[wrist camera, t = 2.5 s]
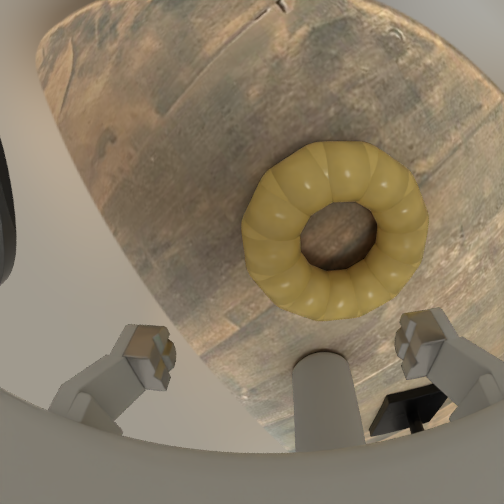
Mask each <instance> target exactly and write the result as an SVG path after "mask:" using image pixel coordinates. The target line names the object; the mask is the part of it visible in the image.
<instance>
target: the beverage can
mask: <svg viewBox="0 0 504 504" xmlns="http://www.w3.org/2000/svg"><path fill="white" fill-rule="evenodd" d="M292 381H293V400H294V422H295V448H296V452H311V451H322V450H331V449H339V448H347V447H353V446H360V445H365V444H366V443H365V437H364V432H363V427H362V421H361V416H360V412H359V407H358V402H357V397H356V393H355V388H354V384H353V379H352V375H351V371H350V367H349V364H348V362H347V360H345V359H344V358H343V357H341V356H340V355H337V354H335V353H330V352H318V353H314V354H311V355H308V356H307V357H305V358H303V359H302V360H301V361H300V362H299V363H298V364H297V365H296V366H295V368H294V369H293V373H292Z"/></svg>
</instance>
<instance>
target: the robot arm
mask: <svg viewBox="0 0 504 504" xmlns="http://www.w3.org/2000/svg"><path fill="white" fill-rule="evenodd" d="M400 324H401V327H400V328H399V329H398V330H397V332H396V336H395V350H396V353H397V356H398V357H399V358H401V359H402V360H403V362H402V365H401V367H402V370H403V372H404V375H405V378H406V380H410V379H415V378H420V377H424V376H427V378H428V379H429V380H430V381H431V382H432V383H433V384H435V385H436V386H437V387H438V388H439V389H440V390H441V391H442V392H443V393H444V394H445V395H446V396H448V397H449V398H450V399H451V400H452V401H453V402H454V403H455V404H456V405H457V406H458V407H457V408H456V409H455V410H454V412H453V413H452V414H451V416H450V418H449V420H450V422H449V423H446V424H443V425H440V426H437V427H434V428H431V429H428V430H424V431H421V432H417V433H414V434H410V435H406V436H402V437H398V438H394V439H390V440H385V441H381V442H376V443H371V444H365V445H360V446H353V447H347V448H339V449H331V450H322V451H311V452H296V453H232V452H218V451H207V450H198V449H190V448H182V447H176V446H169V445H164V444H158V443H153V442H148V441H143V440H139V439H134V438H130V437H126V436H122V434H123V431H122V429H121V428H120V427H119V426H118V425H117V424H116V423H115V422H114V420H116V419H117V418H118V417H119V416H120V415H121V414H122V412H124V411H125V410H126V409H127V408H128V407H129V406H130V405H131V404H132V403H133V402H134V401H135V400H136V399H137V398H138V397H139V396H140V395H141V394H142V393H143V392H144V391H145V389H148V390H157V391H166V390H167V387H168V384H169V381H170V378H171V377H170V374H169V371H170V370H171V369H172V368H174V366H175V362H176V350H175V346H174V343H173V342H172V341H170V340H169V339H168V338H169V335H170V333H169V331H168V329H167V328H166V327H165V326H153V325H135V324H134V325H133V324H128V325H126V326H125V328H124V330H123V331H122V333H121V335H120V337H119V338H118V340H117V342H116V344H115V346H114V347H113V349H112V351H111V353H110V355H105V356H103V357H102V358H100V359H99V360H98V361H96V362H95V363H93V364H92V365H90V366H89V367H87V368H86V369H84V370H83V371H81V372H80V373H78V374H77V375H75V376H74V377H73V378H71V379H70V380H68V381H66V382H65V383H64V384H62V385H61V387H60V388H59V390H58V392H57V394H56V396H55V397H54V399H53V401H52V403H51V405H50V407H49V409H48V410H45V409H43V408H41V407H38V406H36V405H34V404H32V403H30V402H28V401H26V400H23V399H21V398H19V397H17V396H15V395H13V394H12V393H10V392H8V391H6V390H4V389H3V388H1V387H0V504H504V362H503V361H501V360H500V359H498V358H497V357H495V356H493V355H492V354H490V353H489V352H487V351H485V350H484V349H482V348H481V347H479V346H477V345H476V344H474V343H472V342H471V341H469V340H467V339H466V338H464V337H459V336H458V334H457V332H456V331H455V329H454V327H453V326H452V324H451V323H450V321H449V319H448V318H447V316H446V315H445V313H444V312H443V310H442V309H441V308H439V307H437V308H432V309H427V310H421V311H415V312H408V313H403V314H402V316H401V318H400Z"/></svg>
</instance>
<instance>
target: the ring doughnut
mask: <svg viewBox="0 0 504 504" xmlns="http://www.w3.org/2000/svg"><path fill="white" fill-rule="evenodd" d="M332 202H357V203H358V204H360V205H362V206H364V207H366V208H367V209H369V210H371V212H372V214H373V216H374V218H375V220H376V222H377V235H376V242H375V244H374V245H373V247H372V248H371V250H370V251H369V253H368V254H367V256H366V257H365V259H363V260H361V261H360V262H358V263H356V264H354V265H353V266H351V267H349V268H348V269H344V270H332V271H325V270H322V269H320V268H318V267H315V266H313V265H311V264H309V263H308V261H307V260H306V258H305V257H304V255H303V254H302V253H301V244H300V234H301V232H302V230H303V229H304V227H305V225H306V223H307V222H308V220H309V218H310V216H311V215H313V214H314V213H316V212H318V211H319V210H321V209H323V208H324V207H326V206H327V205H329V204H331V203H332ZM428 225H429V215H428V211H427V208H426V206H425V203H424V200H423V198H422V195H421V192H420V190H419V187H418V185H417V183H416V180H415V178H414V176H413V175H412V173H411V172H410V170H409V169H407V168H406V167H405V166H404V165H402V164H401V163H399V162H398V161H397V160H395V159H394V158H392V157H391V156H389V155H388V154H386V153H385V152H383V151H382V150H380V149H379V148H377V147H376V146H374V145H372V144H370V143H367V142H361V141H321V142H313V143H310V144H308V145H306V146H304V147H303V148H301V149H299V150H298V151H296V152H295V153H293V154H292V155H290V156H289V157H287V158H285V159H284V160H282V161H281V162H279V163H278V164H276V165H275V166H273V167H272V168H270V169H269V170H268V171H267V172H266V173H265V174H264V175H263V176H262V178H261V180H260V182H259V184H258V186H257V188H256V190H255V192H254V194H253V196H252V199H251V201H250V203H249V205H248V207H247V209H246V211H245V213H244V216H243V218H242V223H241V232H242V239H243V247H244V254H245V262H246V267H247V270H248V273H249V275H250V276H251V277H252V279H253V280H254V281H255V282H256V283H257V285H258V286H259V287H260V288H261V289H262V290H263V292H264V293H265V294H266V295H267V296H268V297H269V299H270V300H271V301H272V302H273V303H274V304H275V305H276V306H277V307H279V308H281V309H283V310H286V311H289V312H291V313H294V314H297V315H300V316H303V317H305V318H308V319H311V320H315V321H331V320H341V319H351V318H357V317H361V316H363V315H365V314H367V313H369V312H370V311H372V310H374V309H376V308H378V307H379V306H381V305H383V304H385V303H386V302H388V301H390V300H392V299H393V298H394V297H396V296H397V295H398V294H399V292H400V291H401V290H402V289H403V287H404V286H405V285H406V283H407V282H408V281H409V279H410V278H411V277H412V275H413V274H414V273H415V271H416V270H417V268H418V267H419V265H420V264H421V261H422V258H423V254H424V249H425V243H426V238H427V232H428Z"/></svg>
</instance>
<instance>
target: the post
mask: <svg viewBox="0 0 504 504" xmlns="http://www.w3.org/2000/svg"><path fill="white" fill-rule="evenodd" d="M447 398H448V396H446V395H445V394H444V393H443V392H442V391H441V390H440V389H439V388H438V387H437V386H436V385H435V384H432V385H429V386H425V387H421V388H417V389H413V390H409V391H405V392H401V393H396V394H392V395H387V396H386V398H385V400H384V402H383V404H382V406H381V408H380V410H379V412H378V414H377V416H376V418H375V420H374V422H373V424H372V425H371V427H370V429H369V431H370V436H371V437H372V436H377V435H381V434H386V433H390V432H394V431H398V430H402V429H406V428H410V431H411V434H414V433H417V432H421V431H424V428H423V425H422V424H423V423H426V422H429V421H430V420H431V419H432V418H433V416H434V415H435V414H436V412H437V411H438V410H439V409H440V407H441V406H442V405H443V403H444V402H445V400H446V399H447Z"/></svg>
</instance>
